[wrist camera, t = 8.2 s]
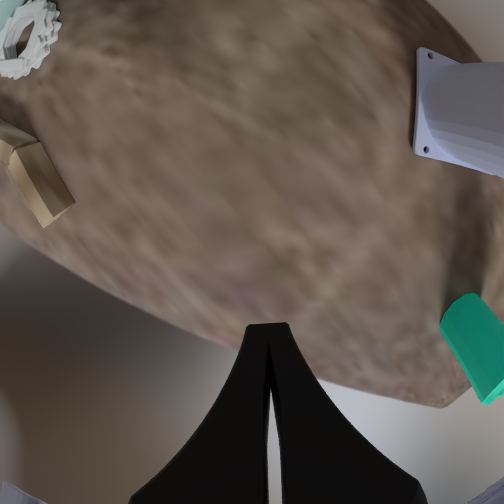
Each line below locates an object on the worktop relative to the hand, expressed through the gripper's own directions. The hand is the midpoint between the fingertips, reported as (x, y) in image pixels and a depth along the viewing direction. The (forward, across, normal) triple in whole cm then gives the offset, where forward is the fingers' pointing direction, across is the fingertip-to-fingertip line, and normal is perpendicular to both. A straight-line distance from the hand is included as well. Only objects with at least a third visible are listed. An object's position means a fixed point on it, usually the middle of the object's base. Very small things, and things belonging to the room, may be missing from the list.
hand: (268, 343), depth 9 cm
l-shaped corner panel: (+11, +16, -18) cm, 27 cm away
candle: (+11, -21, +11) cm, 26 cm away
